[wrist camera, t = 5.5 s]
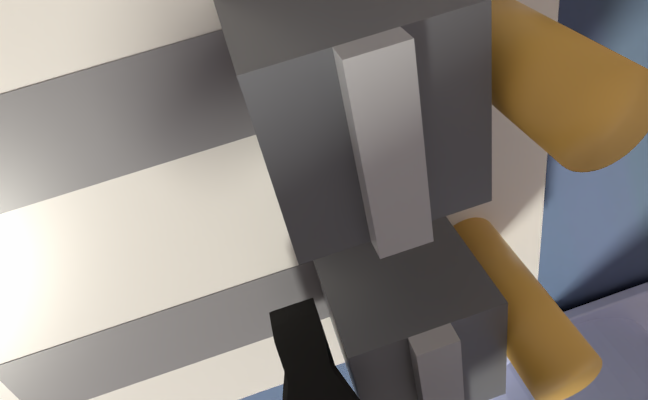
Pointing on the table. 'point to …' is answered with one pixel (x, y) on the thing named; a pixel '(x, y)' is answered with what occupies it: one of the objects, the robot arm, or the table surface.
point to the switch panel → (240, 200)
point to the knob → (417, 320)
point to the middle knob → (367, 114)
